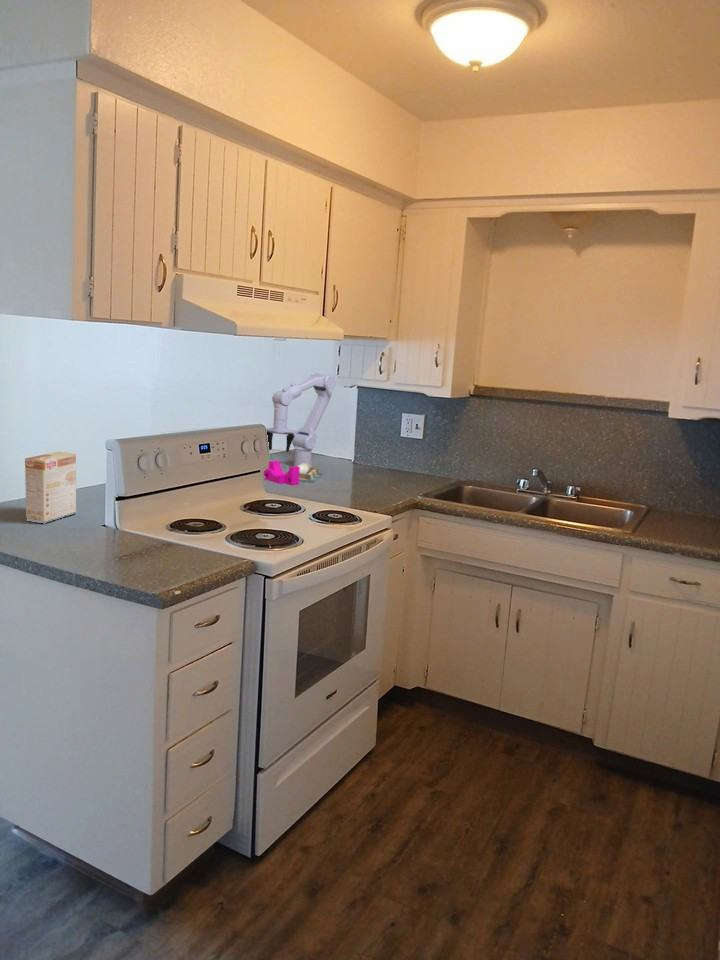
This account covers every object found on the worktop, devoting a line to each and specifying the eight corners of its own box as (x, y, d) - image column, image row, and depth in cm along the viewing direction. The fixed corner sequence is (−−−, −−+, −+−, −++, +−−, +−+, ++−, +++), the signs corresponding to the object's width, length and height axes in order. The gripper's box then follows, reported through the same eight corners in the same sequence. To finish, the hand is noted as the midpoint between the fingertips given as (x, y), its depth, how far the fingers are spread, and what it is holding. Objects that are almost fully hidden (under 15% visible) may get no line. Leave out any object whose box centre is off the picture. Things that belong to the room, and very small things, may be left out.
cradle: (291, 471, 339) (292, 464, 338) (322, 474, 337) (323, 467, 336) (280, 479, 320) (280, 472, 319) (313, 482, 318) (313, 475, 317)
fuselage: (300, 472, 334) (300, 461, 334) (311, 473, 334) (311, 462, 333) (293, 477, 323) (293, 466, 322) (305, 478, 322) (305, 466, 321)
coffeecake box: (58, 511, 245) (58, 451, 241) (77, 514, 243) (77, 453, 239) (24, 521, 231) (23, 457, 227) (44, 524, 229) (43, 460, 225)
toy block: (263, 479, 318) (264, 461, 316) (275, 478, 322) (275, 460, 321) (286, 486, 308) (287, 468, 306) (298, 485, 312) (299, 466, 311)
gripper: (261, 418, 328) (260, 450, 330) (294, 421, 326) (293, 453, 328) (266, 417, 334) (264, 447, 337) (298, 420, 332) (296, 451, 335)
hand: (278, 450), depth 333 cm, fingers open, 7 cm apart
